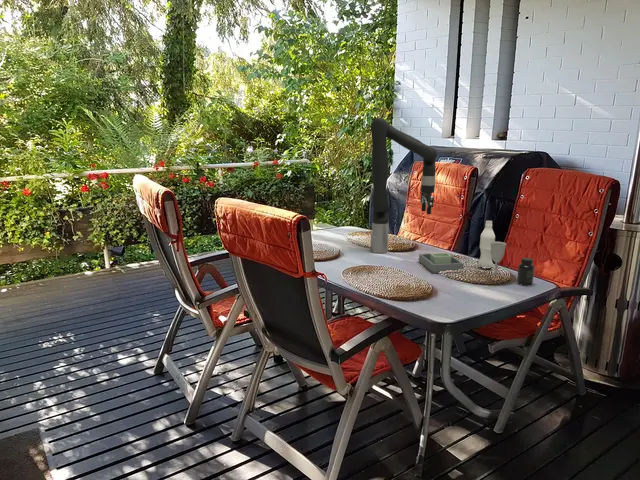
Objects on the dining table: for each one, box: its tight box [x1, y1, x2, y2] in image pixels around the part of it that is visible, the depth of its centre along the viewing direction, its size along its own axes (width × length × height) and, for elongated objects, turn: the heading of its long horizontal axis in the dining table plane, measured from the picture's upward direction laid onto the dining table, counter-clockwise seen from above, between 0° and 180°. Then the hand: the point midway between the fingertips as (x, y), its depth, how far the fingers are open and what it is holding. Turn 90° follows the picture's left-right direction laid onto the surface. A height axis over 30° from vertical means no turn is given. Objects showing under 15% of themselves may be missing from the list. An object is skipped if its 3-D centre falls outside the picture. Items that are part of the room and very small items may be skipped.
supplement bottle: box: [516, 257, 535, 286], centre depth 228 cm, size 7×7×12 cm
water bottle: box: [477, 220, 496, 268], centre depth 249 cm, size 7×7×25 cm
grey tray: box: [418, 252, 464, 275], centre depth 254 cm, size 16×20×4 cm
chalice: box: [490, 241, 507, 276], centre depth 233 cm, size 7×7×18 cm
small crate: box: [429, 252, 452, 264], centre depth 254 cm, size 9×6×6 cm, turn 99°
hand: (426, 212), depth 274 cm, fingers open, 8 cm apart
